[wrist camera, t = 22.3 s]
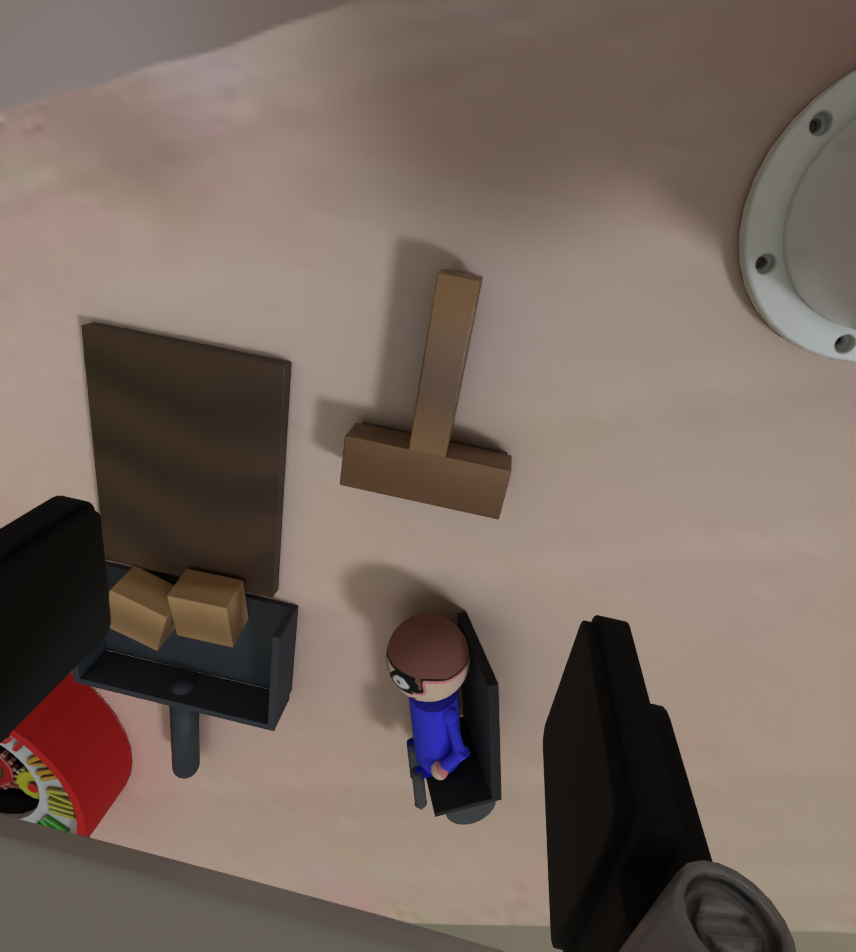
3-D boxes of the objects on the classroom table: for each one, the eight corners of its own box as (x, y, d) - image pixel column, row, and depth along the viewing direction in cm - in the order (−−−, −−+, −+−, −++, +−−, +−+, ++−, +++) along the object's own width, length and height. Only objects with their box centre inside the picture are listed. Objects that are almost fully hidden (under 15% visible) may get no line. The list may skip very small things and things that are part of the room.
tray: (92, 321, 33) (80, 324, 32) (291, 361, 32) (285, 366, 32) (113, 551, 40) (104, 559, 39) (278, 589, 39) (272, 598, 38)
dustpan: (94, 558, 41) (60, 587, 38) (298, 605, 40) (279, 638, 37) (113, 731, 48) (85, 766, 45) (285, 774, 47) (268, 813, 44)
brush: (379, 253, 29) (363, 258, 26) (552, 287, 29) (556, 295, 26) (353, 464, 34) (338, 486, 32) (500, 495, 34) (498, 521, 31)
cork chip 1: (134, 564, 39) (109, 590, 37) (187, 591, 39) (166, 617, 37) (127, 599, 41) (103, 625, 39) (178, 624, 41) (157, 651, 39)
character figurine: (414, 745, 44) (402, 580, 38) (510, 760, 42) (512, 590, 36) (385, 844, 37) (364, 661, 31) (498, 867, 35) (499, 678, 29)
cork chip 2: (186, 567, 38) (166, 596, 36) (243, 579, 38) (226, 608, 36) (195, 607, 41) (176, 635, 39) (249, 618, 40) (233, 647, 38)
